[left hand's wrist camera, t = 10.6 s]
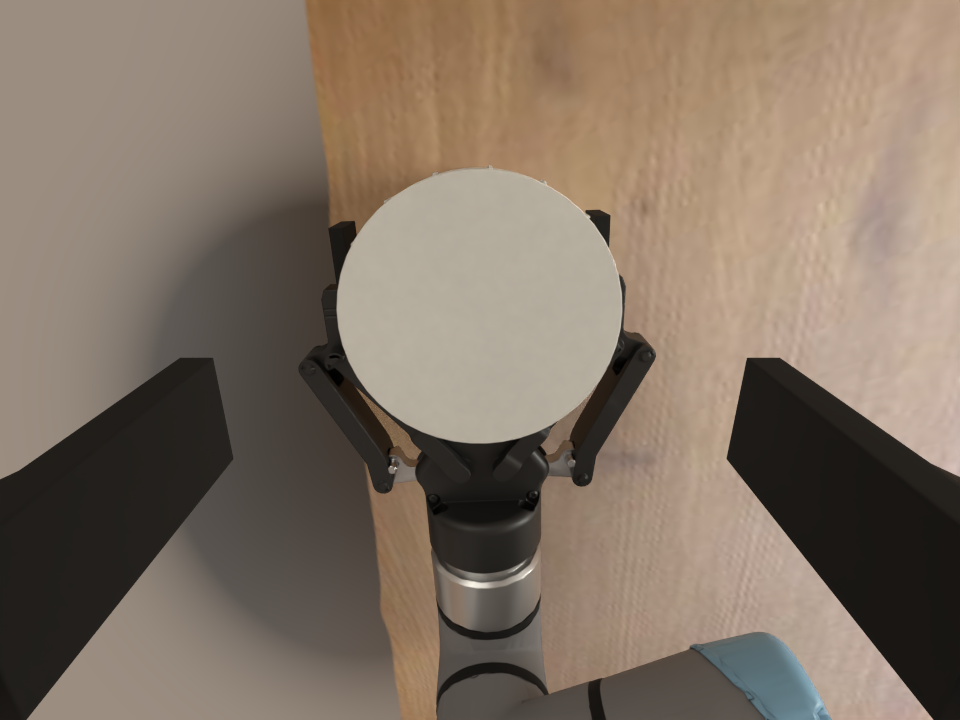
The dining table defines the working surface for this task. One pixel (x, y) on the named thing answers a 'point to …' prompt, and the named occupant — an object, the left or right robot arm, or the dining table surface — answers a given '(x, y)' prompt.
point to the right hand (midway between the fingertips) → (469, 217)
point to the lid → (479, 305)
